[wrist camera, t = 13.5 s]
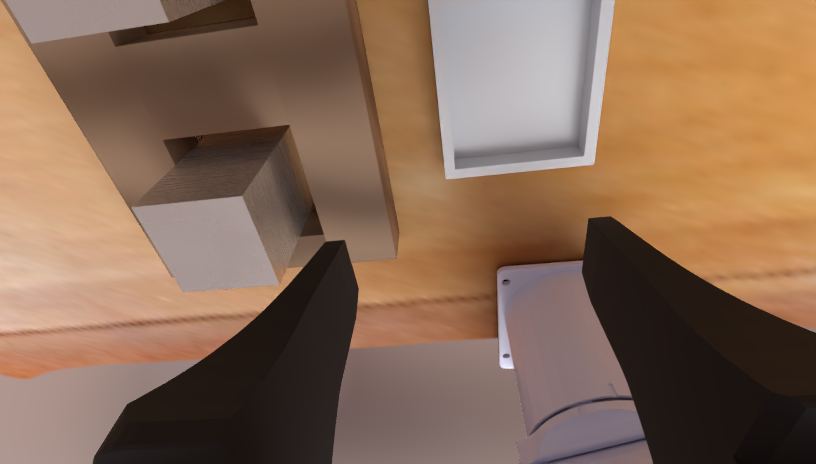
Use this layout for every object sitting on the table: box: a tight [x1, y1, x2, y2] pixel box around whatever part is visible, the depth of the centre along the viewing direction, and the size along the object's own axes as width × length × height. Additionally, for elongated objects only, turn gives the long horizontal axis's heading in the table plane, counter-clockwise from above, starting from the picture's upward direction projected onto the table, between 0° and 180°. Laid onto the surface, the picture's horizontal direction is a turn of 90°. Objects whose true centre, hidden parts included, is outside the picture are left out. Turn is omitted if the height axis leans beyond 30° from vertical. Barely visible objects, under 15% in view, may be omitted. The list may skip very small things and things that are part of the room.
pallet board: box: [1, 0, 399, 277], centre depth 19 cm, size 20×13×2 cm, turn 8°
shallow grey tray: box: [428, 0, 615, 180], centre depth 19 cm, size 8×7×2 cm
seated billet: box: [131, 125, 314, 292], centre depth 20 cm, size 4×4×7 cm
